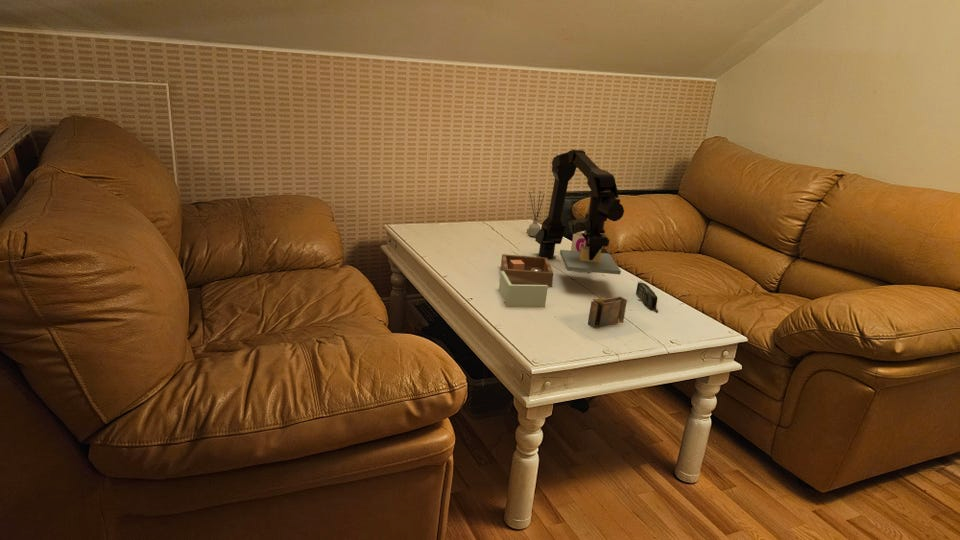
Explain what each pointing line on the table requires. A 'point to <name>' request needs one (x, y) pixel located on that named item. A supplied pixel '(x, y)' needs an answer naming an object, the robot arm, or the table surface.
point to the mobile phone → (646, 296)
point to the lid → (589, 261)
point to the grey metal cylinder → (536, 269)
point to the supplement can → (578, 243)
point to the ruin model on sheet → (607, 311)
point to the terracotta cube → (516, 265)
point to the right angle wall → (522, 293)
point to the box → (528, 270)
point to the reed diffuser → (534, 221)
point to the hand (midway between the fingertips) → (589, 258)
